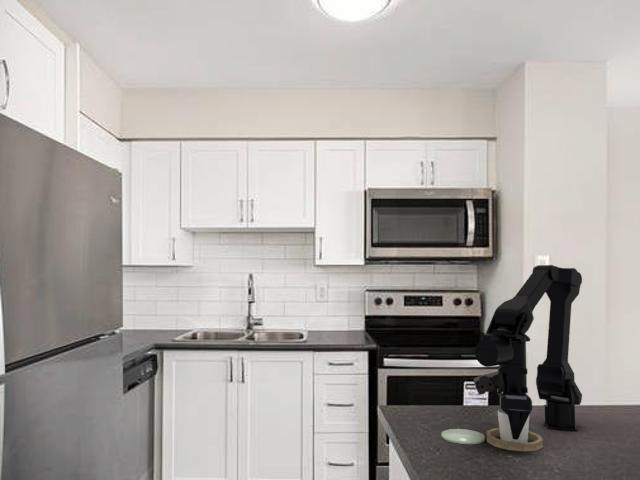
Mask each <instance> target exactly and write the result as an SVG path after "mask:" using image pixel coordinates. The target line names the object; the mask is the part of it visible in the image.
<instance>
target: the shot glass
mask: <svg viewBox="0 0 640 480" xmlns="http://www.w3.org/2000/svg"><path fill="white" fill-rule="evenodd" d="M530 415H531V413H530V414H529V416H528V419H527V421H526V423H525V425H524V427H523V429H522V432H521V434H520V436H519V439H518V440H516V439H513V438H512V433H511V428H510V423H509V418H508V415H507V414H506V413H505V412H504V411H502V410H501V407H500V408H498V409H497V419H498V428H499V429H500V436H499V437H500V440H504V441H508V442H517V443H529V442H528V441H529V439H528V431H529V428H530V427H529V426H530Z"/></svg>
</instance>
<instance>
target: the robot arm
mask: <svg viewBox="0 0 640 480" xmlns="http://www.w3.org/2000/svg"><path fill="white" fill-rule="evenodd" d="M582 283H583V277H582V274H581V273H580V272H578V270H577V269H576V268H575V267H574V268H573V267H566V268H565V267H560V266H559V267H558V266H556V265H553V264H538V265H536V266H534V267H533V268H532V273H531V274H530V275H529V277H528V278H527V280H526V281H525V282H524V283H523V285H522V286H521V288H520V289H519V290H518V292H517V293H516V294H515V296H513V297H512V298H510V299H508V300H504V301H503V302H502V303H501V304H500V305H499V306H497V308H496V309H495V310H494V313H493V315H492V317H491V320H490V322H489V324H488V327H487V329H486V331H485V333H484V334H483V335H482V340H480V341H479V342H478V343H477V344H476V346H475V348H474V355H475V358H476V360H477V362H478V364H480V365H482V366H484V367H485V368H486V367H488V368H491V367H496V366H497V371H494V372H493V371H492V372H489V373H486V374H483V375H479V376H477V377H473V384H474V386H475V389H476V392H477V393H478V395H479V396H481V395H484V394H486V393H488V392H492V391H496V390H497V396H498V398H499V407H500V408H501V410H502V411H504V412H505V413H506V414H507V415H508V418H509V423H510V428H511V433H512V438H513V439H516V440H518V439H519V436H520V434H521V432H522V429H523V427H524V425H525V423H526V421H527V419H528V416H529V414H530V415H531V413H532V411H533V401H532V398H531V397H530V396H529V394H528V393H529V389H528V386H527V383H528V382H527V381H528V380H527V379H528V378H527V375H528V368H527V343H528V342H531V338H530V336H528V335H527V332H528V331H529V329H530V328H531V326H532V323H533V321H534V319H535V318H534V314H533V312H534V309H535V308H536V307H537V305H538V304H539V302H540V300H541V299H542V298H543V296H544V295H545V294H546V296H547V297H548V300H549V301H550V302H549V303H550V304H549V305H550V306H549V316H548V317H549V319H548V329H547V330H548V331H547V332H548V333H547V346H546V357H545V359H544V361H542V363H539V364H538V365H537V367H536V378H535V385H536V391H537V395H538V399H539V400H544V401H545V404H543V406H542V409H543V412H542V413H543V414H542V415H543V422H544V424H545V425H546V427H547V428H548V429H553V430H564V431H578V428H577V427H576V407H575V406H580V405H581V404H582V400H583V393H582V392H581V391H580V389H579V387H578V384H576V381H575V372H574V370H573V368H572V367H571V365H570V363H569V351H570V347H569V345H570V333H571V317H572V316H571V314H572V305H573V302H574V301H575V299H577V297H578V296H579V295H580V291H581V290H580V289H581V286H582ZM529 417H530V416H529Z"/></svg>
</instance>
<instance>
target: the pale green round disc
mask: <svg viewBox="0 0 640 480" xmlns="http://www.w3.org/2000/svg"><path fill="white" fill-rule="evenodd" d="M441 438H442V439H443V440H445V441H446V442H450V443H454V444H459V445H460V444H461V445H478V444H482V443H485V441H486V436H485V434H483V433H481V432H479V431H475V430H473V429H472V430H471V429H464V428H450V429H446V430H443V431H442V432H441Z"/></svg>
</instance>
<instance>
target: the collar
mask: <svg viewBox="0 0 640 480" xmlns="http://www.w3.org/2000/svg"><path fill="white" fill-rule="evenodd" d="M497 437H500V429H499V427H497V428H491V429H489V430H486V442H487V443H488V444H490V445H491V446H493V447H496V448H499V449H504V450H506V451H507V450H508V451H513V452H515V451H516V452H533V451H534V452H535V451H538V450H540V449H541V450H542V448H543V447H544V445H543V444H544V442H543V441H544V440H543V438H542V436H541V435H540V434H538V433H535V432H534V431H530V430H528V440H531V442H527V443H517V442H508V441H504V440H501V439H499V438H497Z"/></svg>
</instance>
